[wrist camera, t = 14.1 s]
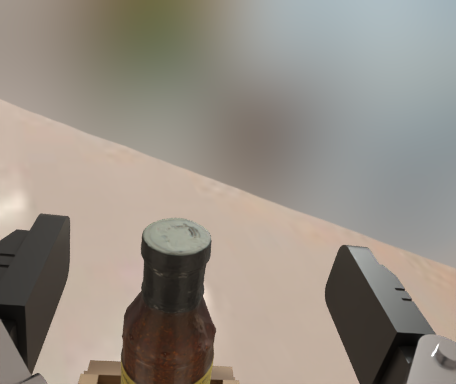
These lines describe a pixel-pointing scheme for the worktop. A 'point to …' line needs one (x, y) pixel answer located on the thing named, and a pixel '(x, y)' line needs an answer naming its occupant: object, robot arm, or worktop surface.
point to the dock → (111, 374)
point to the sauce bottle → (170, 309)
